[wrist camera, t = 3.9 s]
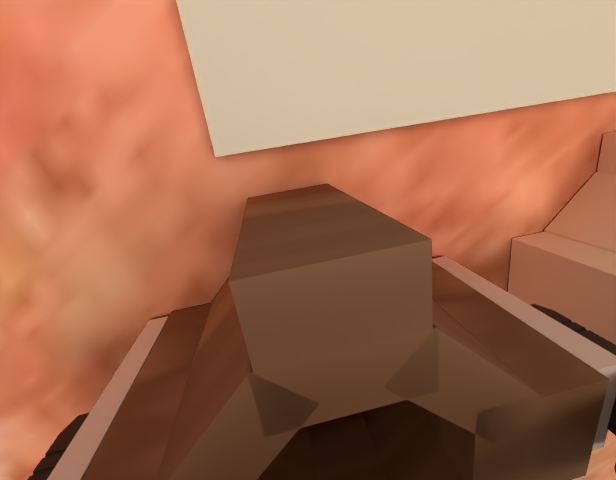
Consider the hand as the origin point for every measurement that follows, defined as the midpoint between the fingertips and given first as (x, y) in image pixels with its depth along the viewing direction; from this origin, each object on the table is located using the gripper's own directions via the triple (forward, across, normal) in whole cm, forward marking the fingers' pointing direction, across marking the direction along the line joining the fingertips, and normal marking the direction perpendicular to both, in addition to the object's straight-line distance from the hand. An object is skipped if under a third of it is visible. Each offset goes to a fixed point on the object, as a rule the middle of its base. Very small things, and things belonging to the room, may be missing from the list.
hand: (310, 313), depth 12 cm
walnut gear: (0, 0, 0) cm, 0 cm away
